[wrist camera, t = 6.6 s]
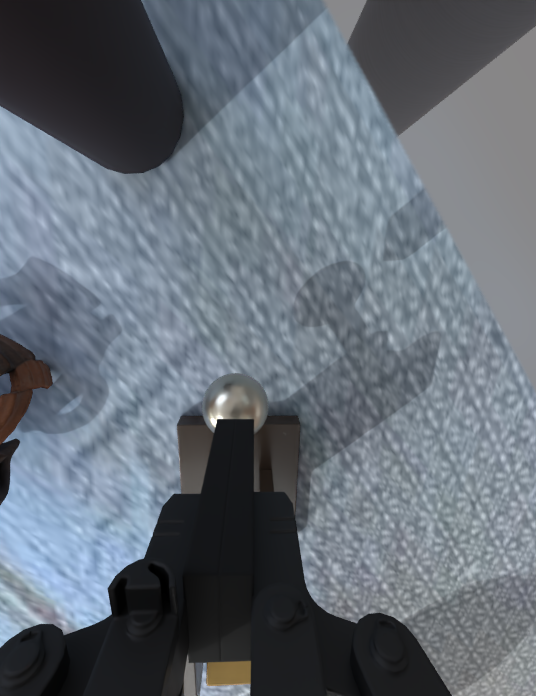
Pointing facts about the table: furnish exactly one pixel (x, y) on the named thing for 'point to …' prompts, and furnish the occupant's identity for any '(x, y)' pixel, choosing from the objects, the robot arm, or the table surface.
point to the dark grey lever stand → (269, 475)
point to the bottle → (91, 79)
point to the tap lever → (252, 403)
